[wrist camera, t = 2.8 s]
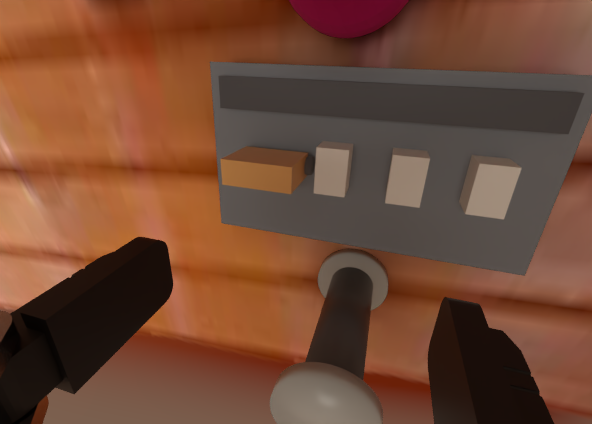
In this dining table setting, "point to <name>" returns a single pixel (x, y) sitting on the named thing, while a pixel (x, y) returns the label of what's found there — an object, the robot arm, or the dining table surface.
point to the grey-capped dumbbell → (336, 349)
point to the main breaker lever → (266, 169)
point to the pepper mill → (347, 15)
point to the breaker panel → (371, 171)
